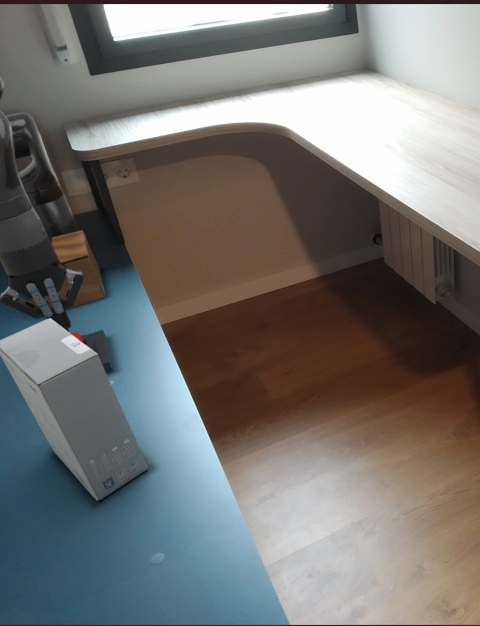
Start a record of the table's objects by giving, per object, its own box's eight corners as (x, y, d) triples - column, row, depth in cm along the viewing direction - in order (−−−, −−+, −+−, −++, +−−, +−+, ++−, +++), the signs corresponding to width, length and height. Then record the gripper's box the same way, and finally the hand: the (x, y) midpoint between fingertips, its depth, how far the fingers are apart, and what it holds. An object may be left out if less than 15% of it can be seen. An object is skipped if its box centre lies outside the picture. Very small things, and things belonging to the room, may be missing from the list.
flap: (52, 238, 134) (51, 237, 133) (83, 231, 136) (82, 230, 136) (54, 264, 122) (53, 263, 122) (88, 256, 125) (87, 254, 125)
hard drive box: (151, 468, 86) (99, 354, 76) (98, 504, 82) (35, 387, 71) (102, 423, 96) (49, 315, 85) (52, 452, 91) (-11, 342, 80)
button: (59, 346, 109) (55, 337, 107) (84, 338, 110) (79, 329, 109) (60, 357, 105) (55, 348, 104) (85, 349, 107) (81, 340, 106)
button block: (49, 357, 112) (40, 340, 110) (106, 339, 116) (99, 321, 114) (51, 393, 103) (41, 374, 101) (113, 371, 107) (105, 353, 105)
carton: (38, 287, 137) (20, 249, 132) (99, 270, 141) (84, 232, 136) (39, 317, 125) (19, 277, 120) (105, 297, 130) (89, 257, 125)
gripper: (64, 219, 102) (103, 308, 111) (-26, 242, 97) (21, 333, 106) (66, 235, 96) (107, 327, 105) (-30, 260, 91) (21, 355, 100)
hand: (64, 330), depth 106 cm, fingers closed
